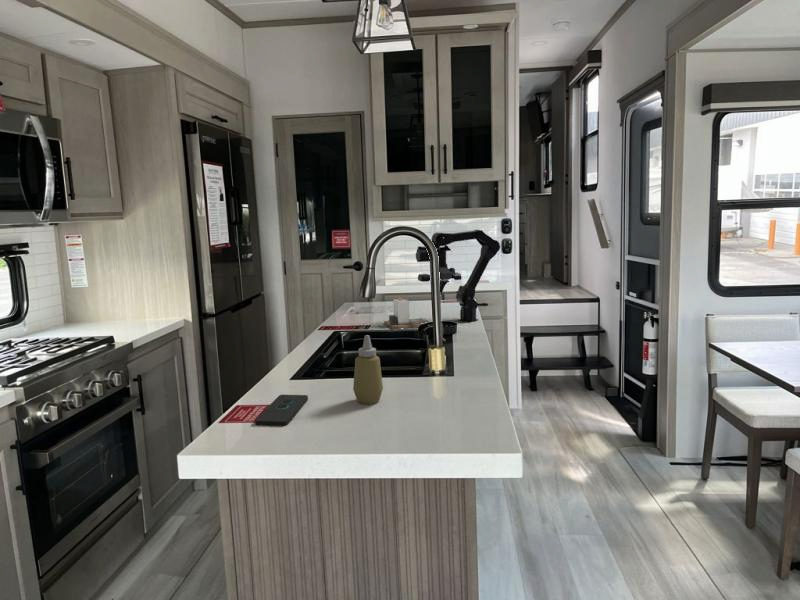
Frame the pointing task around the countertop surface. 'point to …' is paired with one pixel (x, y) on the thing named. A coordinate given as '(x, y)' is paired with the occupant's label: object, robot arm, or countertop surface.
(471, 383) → the countertop surface
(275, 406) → the smart home device
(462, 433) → the countertop surface
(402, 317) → the block
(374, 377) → the squeeze bottle
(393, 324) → the rail board
